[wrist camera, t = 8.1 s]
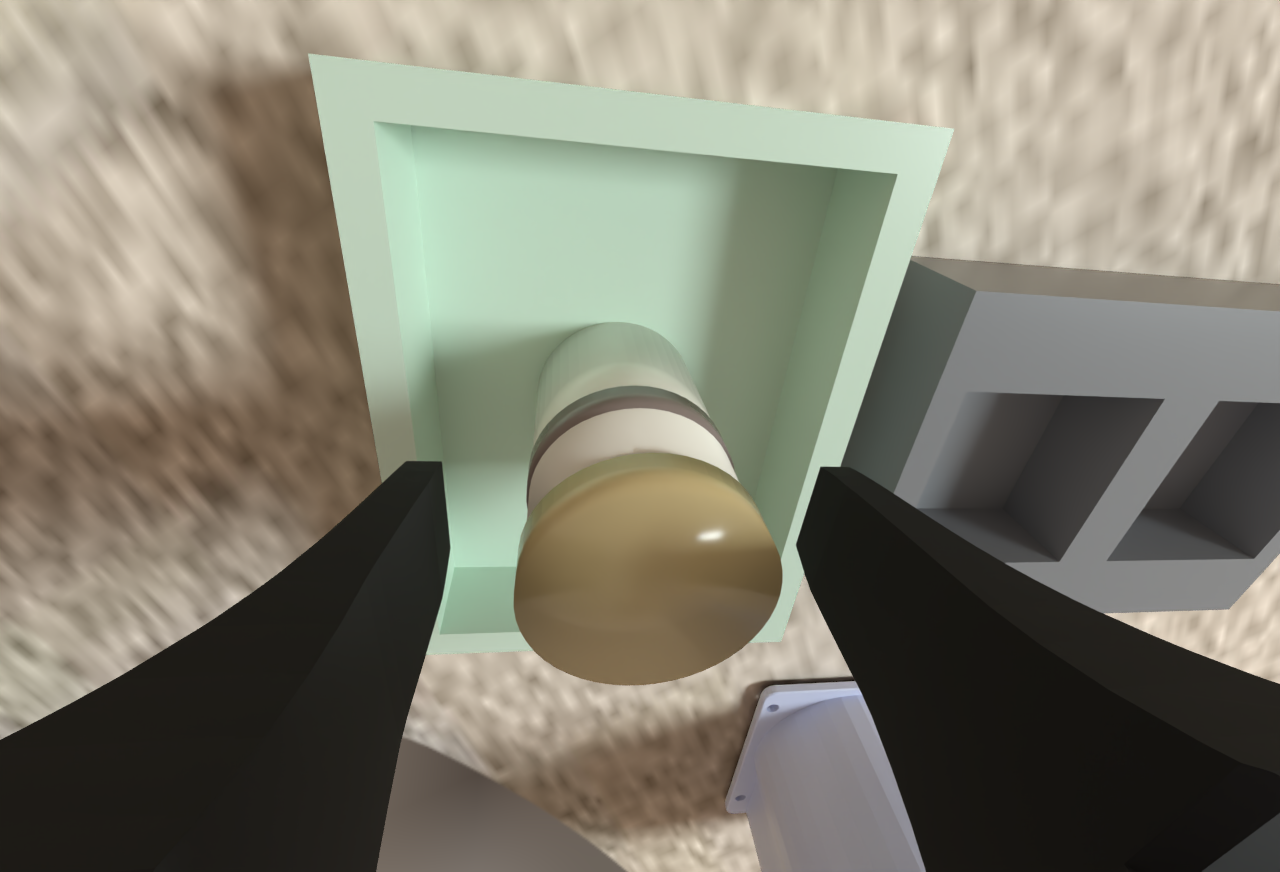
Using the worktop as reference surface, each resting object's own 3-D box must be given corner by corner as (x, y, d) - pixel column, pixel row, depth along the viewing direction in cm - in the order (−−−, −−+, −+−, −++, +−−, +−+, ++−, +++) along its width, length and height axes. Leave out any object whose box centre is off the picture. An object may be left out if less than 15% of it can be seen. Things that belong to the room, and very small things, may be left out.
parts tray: (752, 569, 19) (781, 641, 17) (432, 575, 18) (411, 655, 15) (873, 121, 12) (954, 128, 10) (367, 63, 11) (308, 53, 8)
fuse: (685, 460, 16) (757, 677, 10) (536, 462, 15) (520, 693, 9) (703, 319, 14) (809, 489, 8) (530, 316, 13) (504, 495, 7)
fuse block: (1149, 548, 21) (1228, 609, 19) (804, 551, 19) (840, 621, 17) (1342, 289, 16) (1487, 325, 14) (901, 255, 14) (976, 290, 12)
